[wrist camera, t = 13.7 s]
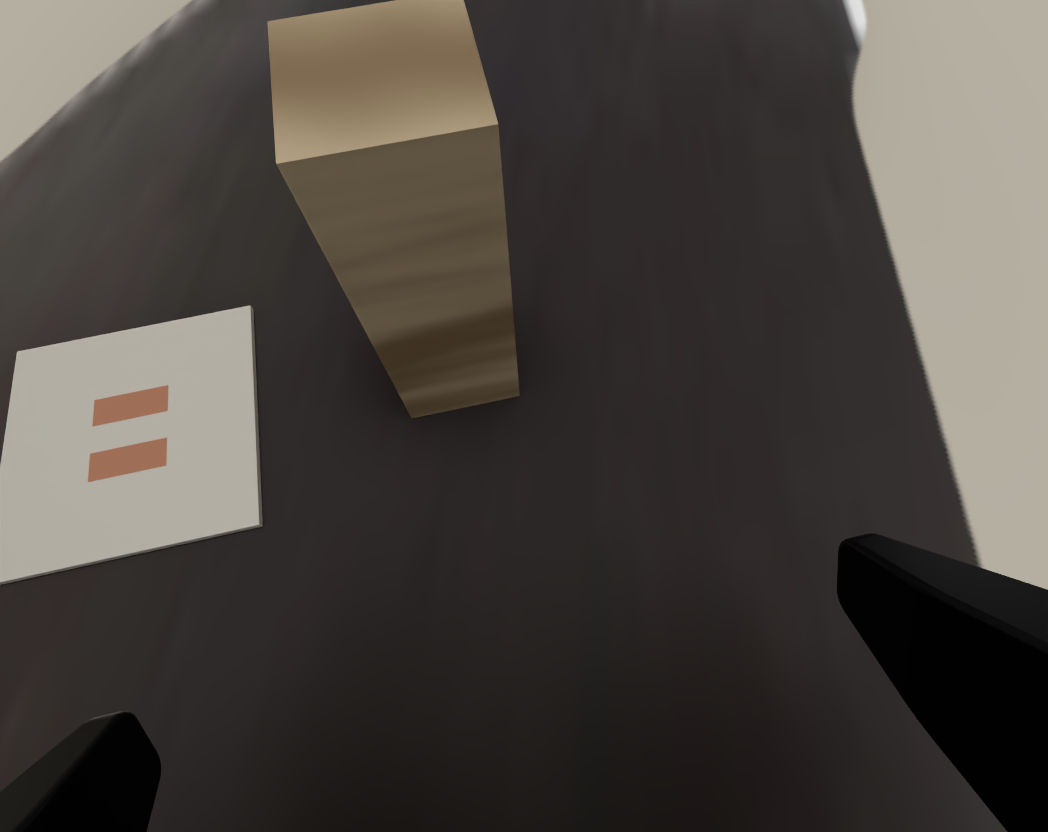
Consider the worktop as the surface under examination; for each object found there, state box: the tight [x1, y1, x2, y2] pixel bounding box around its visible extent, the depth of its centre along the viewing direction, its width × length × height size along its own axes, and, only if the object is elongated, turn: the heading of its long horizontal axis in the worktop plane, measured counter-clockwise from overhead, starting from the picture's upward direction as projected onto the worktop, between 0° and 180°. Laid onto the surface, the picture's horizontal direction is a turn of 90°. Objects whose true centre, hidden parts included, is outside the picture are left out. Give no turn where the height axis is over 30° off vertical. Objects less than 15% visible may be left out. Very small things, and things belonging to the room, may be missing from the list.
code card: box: [0, 306, 263, 585], centre depth 23 cm, size 10×10×1 cm
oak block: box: [268, 0, 520, 418], centre depth 18 cm, size 4×4×13 cm
